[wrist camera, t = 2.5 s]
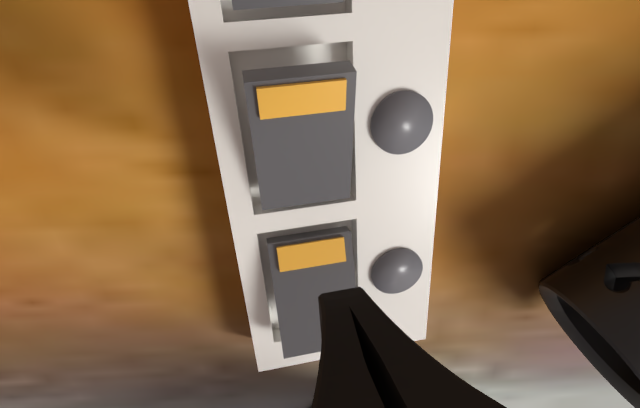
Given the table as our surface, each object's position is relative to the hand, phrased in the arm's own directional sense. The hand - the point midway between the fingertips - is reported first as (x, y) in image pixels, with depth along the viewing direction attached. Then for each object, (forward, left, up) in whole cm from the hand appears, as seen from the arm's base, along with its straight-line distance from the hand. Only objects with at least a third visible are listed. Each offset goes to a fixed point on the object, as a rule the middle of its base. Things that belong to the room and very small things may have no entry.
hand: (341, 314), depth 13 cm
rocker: (-3, -3, -7) cm, 8 cm away
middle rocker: (+2, +3, -7) cm, 8 cm away
